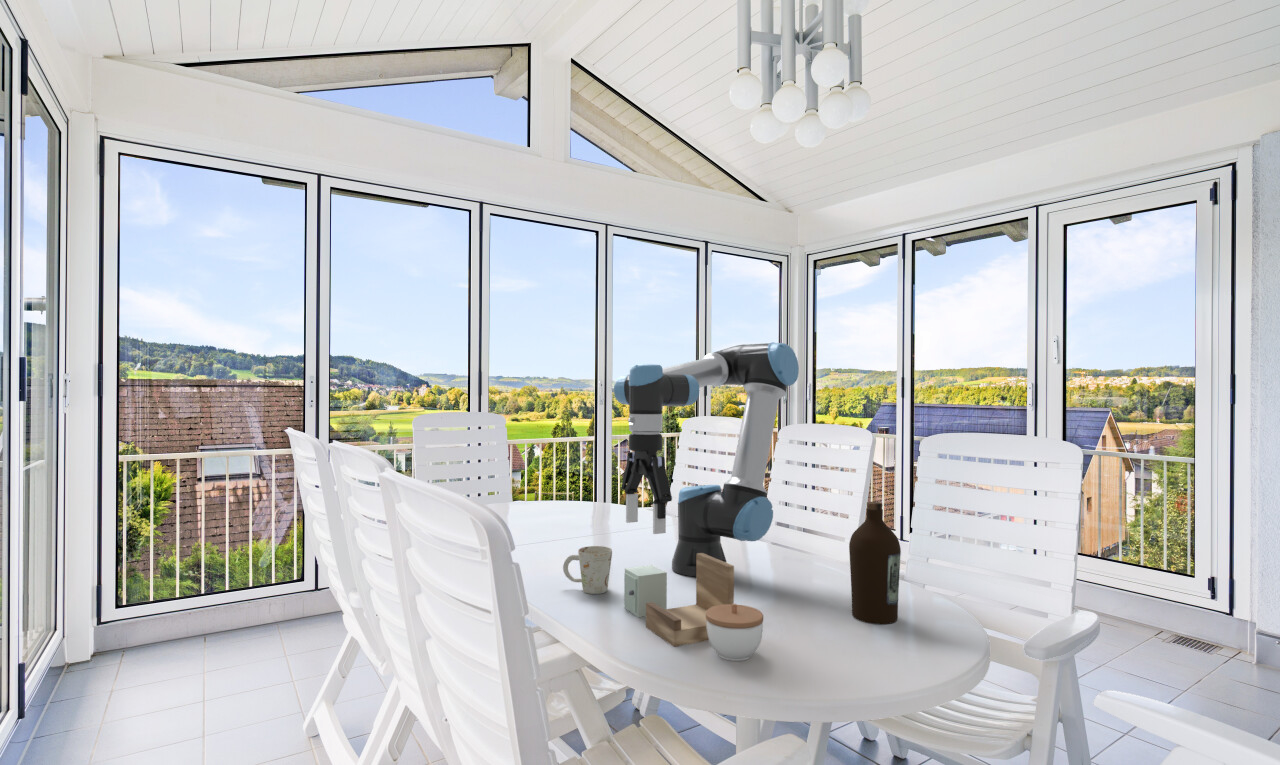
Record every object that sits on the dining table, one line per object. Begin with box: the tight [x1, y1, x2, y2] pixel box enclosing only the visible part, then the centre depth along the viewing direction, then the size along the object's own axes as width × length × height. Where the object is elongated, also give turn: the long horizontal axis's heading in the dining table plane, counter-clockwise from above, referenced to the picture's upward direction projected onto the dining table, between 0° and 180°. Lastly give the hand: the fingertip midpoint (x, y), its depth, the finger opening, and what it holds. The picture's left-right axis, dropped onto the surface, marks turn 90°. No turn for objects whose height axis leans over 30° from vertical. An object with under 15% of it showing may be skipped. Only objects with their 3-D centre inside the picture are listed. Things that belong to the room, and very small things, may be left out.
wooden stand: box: [645, 553, 735, 648], centre depth 137 cm, size 14×12×14 cm
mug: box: [562, 545, 613, 595], centre depth 165 cm, size 8×13×10 cm, turn 78°
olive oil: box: [848, 501, 902, 625], centre depth 146 cm, size 11×11×25 cm
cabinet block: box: [623, 564, 668, 618], centre depth 150 cm, size 8×7×9 cm
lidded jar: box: [706, 603, 764, 662], centre depth 125 cm, size 11×11×9 cm
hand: (645, 527), depth 150 cm, fingers open, 13 cm apart
